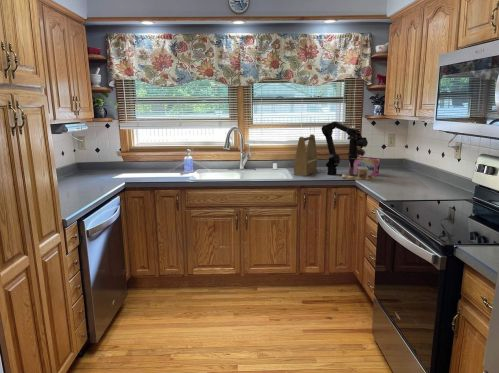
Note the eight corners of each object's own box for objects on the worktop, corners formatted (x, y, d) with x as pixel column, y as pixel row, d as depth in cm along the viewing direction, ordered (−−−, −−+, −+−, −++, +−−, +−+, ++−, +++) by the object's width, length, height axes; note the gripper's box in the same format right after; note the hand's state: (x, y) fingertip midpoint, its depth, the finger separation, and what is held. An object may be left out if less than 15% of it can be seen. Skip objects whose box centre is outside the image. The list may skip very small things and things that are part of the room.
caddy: (306, 176, 288) (308, 136, 282) (293, 174, 293) (294, 136, 286) (316, 170, 314) (318, 134, 308) (304, 169, 319) (306, 134, 312)
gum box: (380, 175, 295) (382, 158, 292) (376, 176, 289) (377, 159, 286) (352, 171, 311) (353, 155, 308) (348, 172, 305) (349, 156, 302)
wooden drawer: (349, 176, 280) (350, 165, 278) (348, 174, 287) (349, 163, 286) (367, 177, 277) (368, 166, 275) (366, 175, 285) (367, 164, 283)
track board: (342, 178, 279) (342, 176, 279) (341, 175, 291) (342, 174, 290) (373, 180, 275) (373, 178, 274) (371, 177, 286) (371, 175, 286)
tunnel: (357, 177, 277) (358, 168, 275) (356, 174, 288) (357, 166, 287) (367, 178, 275) (368, 169, 274) (366, 175, 287) (366, 166, 285)
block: (359, 175, 280) (360, 170, 279) (359, 174, 284) (359, 169, 283) (365, 175, 279) (365, 170, 278) (364, 174, 283) (365, 169, 282)
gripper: (365, 147, 268) (363, 169, 271) (363, 144, 286) (361, 165, 289) (349, 146, 270) (347, 168, 274) (348, 144, 288) (347, 164, 291)
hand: (351, 166), depth 282 cm, fingers open, 9 cm apart
